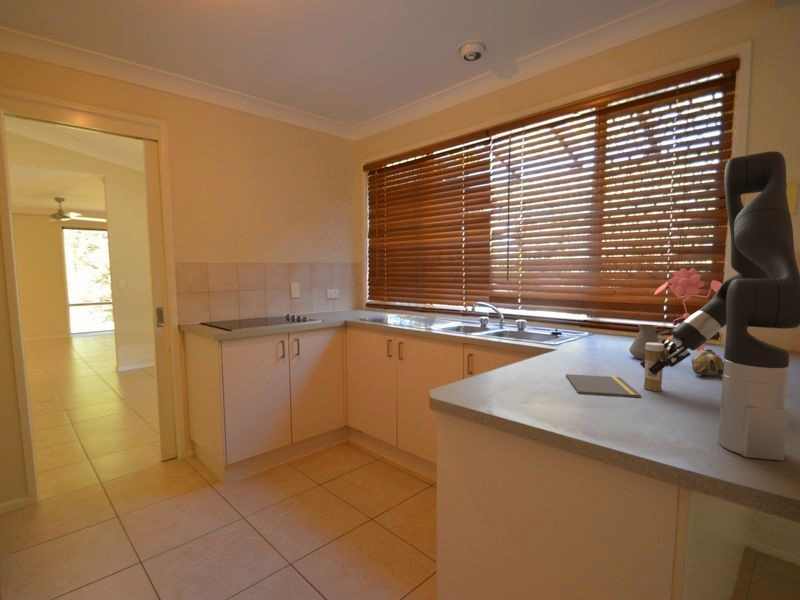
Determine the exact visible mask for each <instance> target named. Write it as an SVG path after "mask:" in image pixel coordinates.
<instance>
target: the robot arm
mask: <svg viewBox="0 0 800 600" xmlns="http://www.w3.org/2000/svg"><path fill="white" fill-rule="evenodd" d="M785 159H786V158H785V157H784V155H783V154H782V153H781V152H779V151H773V150H772V151H771V150H770V151H765V152H757V153H752V154H747V155H741V156H736V157H732V158H729V160H728V161H727V162H726V164H725V169H724V174H723V175H724V177H723V178H724V179H723V180H724V182H723V183H724V193H725V204H726V212H727V218H728V226H729V234H730V266H731V269H733V270H734V271H735V272H737V273H738V274H735V275H732V276H729V277H728V278H726V280H724V281H723V283H722V285H721V287H720V288H719V289H718V291H717V292H715V294H714V295H713V297H712V298H711V300H709V301H708V302H707V303H706V304H705V305H703V306H702V307H701V308H699V309H698V310H697V311H695V312H693V313H692V314H690V315H691V316H689V317H688V318H687V319H685V320H683V321H682V322H681V323H679V324H678V325H677V326H675V327H674V329H673V328H672V329H673V330H672V329H671V330H672V331H671V332H670V333H671V336H672V335H673V338H671V339H669V340H667V339H665V338H661V339H659V342H658V343H661V344H664V351H663V356H662V357H661V359H660V361H657V362H656V363H655V364H653V365H652V366H651V367H649V369H648V370H649V371H650V372H651V373H652V374H654V375H655V374H657V373H658V372H659V371H661V370H662V369H663V370H664V369H665V367H666V368H668V367H671V368H673V367H675V366H676V365H678V364H679V363H681V362H682V361H683V360H685V359H687V358H688V357H689V356H691V353H690V352H689V350H690V351H697V350H696V349H697V348H699V347H700V346H701V345H702V344H705V343H706V342H708V341H709V340H710V339H712V337H715V335H717V333H718V332H719V331H720V330H721V329H723V328H724V327H726V329H725V332H726V333H725V343H724V344H725V346H724V354H723V355H724V356H723V363H724V366H723V375H722V381H721V395H720V396H721V397H720V406H719V407H720V410H719V420H718V421H719V422H718V423H719V424H718V439H717V441H718V443H719V445H720V446H722V447H723V448H725V449H726V450H729V451H731V452H733V453H736V454H739V455H740V456H742V457H744V458H753V459H762V460H770V461H771V460H774V461H784V457H785V447H786V435H787V424H788V423H787V422H788V411H787V409H786V398H787V385H788V377H789V376H788V375H789V366H790V365H789V364H790V353H789V351H787V350H786V349H784V348H782V347H779V346H777V345H773V344H771V343H767V342H765V341H762V340H760V339H758V338H757V337H755V336H753V335H752V334H751V333H750V332H748V328H749V327H750V328H751V327H752V328H767V329H781V330H783V329H795V328H797V327H799V326H800V271H799V267H798V262H797V260H796V253H795V244H794V242H795V241H794V240H795V239H794V228H793V221H792V216H791V211H790V207H789V201H788V195H787V166H786V165H787V164H786V160H785ZM755 193H759V194H758V195H757V196H756V197H754V198H753V199H752V200H751V201H749V203H747V204H746V205H745V206H744V204H743V200H742V195H746V194H755ZM666 340H667V341H666ZM639 365H640V366H641V367H642V368H643V369H645V359H644V360H641V362H639Z"/></svg>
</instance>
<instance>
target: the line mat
mask: <svg viewBox="0 0 800 600" xmlns="http://www.w3.org/2000/svg"><path fill="white" fill-rule="evenodd" d="M565 377H566V378H567V379H568V382H570V384H571V385H572V387H573V388H574V390H575V391H576V393H578V394H583V395H584V394H585V395H597V396H599V395H600V396H601V395H602V396H615V397H629V398H631V397H632V398H642V394H640V393H639V392H638V391H637V390H636V389H634V387H632V386H631V385H630V384H629V383H627V382H626V381H625V380H624V379H622V377H620V376H613V375H611V376H604V375H587V374H586V375H584V374H571V373H569V374H565Z"/></svg>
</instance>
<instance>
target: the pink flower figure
mask: <svg viewBox="0 0 800 600" xmlns="http://www.w3.org/2000/svg"><path fill="white" fill-rule="evenodd" d="M673 276H674V277H670V278H669V279H668V282H666V283H663V284H662V285H660V286H659V287H658V288H657V289H656V290H655V292H654V294H653V295H654V296H656V295H658V294H659V293H661V292H663V291H664V290H665V289H666V288H667V287H668V288H669V289H670V291H671V292H672V293H673V294H674V295H675V297H676V298H677V299H682V298H683V299H684V298H685V299H684V300H683V301H682V304H683V306H684V312H685V313H683V316H682V317H678V318H676V319H674V320H673V321H672V324H673V326H672V327H673V328H672V329H674V328H675V321H677V320H680V319H685V320H686V319H687V318H688V317H689V316H691V315H692V314H691V313H688V311H687V306H686V301H688V300H689V299H692V297H697V298H705V299H709V297H710V294H711V293H712V290H713V291H714V292H715V293H716V292H717V291H718V289H719V288H720V287H721V285H722V284H723V283H722V282H720V281H719V280H715V279H713V280H712V281H711V282H710V288H709V290H708V293H707V296H705V295H698V294H700V288H703V287H704V286H705V282H703V281H702V280H701V279H702V274H700V273H699V274H697V270H696V269H695V268H693V267H692V268H690V269H689V270H688V269H686V268H683V267H682V268H680V270H675V271H673ZM669 283H670V284H671V285H670V284H669ZM671 338H673V335H672V334H671V335H670V336H669V337H668V338H666V339H665V340H666V341H667V340H669V339H671ZM705 346H706V344H705V343H704V344H702V345H701V346H700V347H699V348H697V349H696V350H695V351H697V352H699V351H700V350H701V349H704V350H705Z"/></svg>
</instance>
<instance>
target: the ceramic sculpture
mask: <svg viewBox="0 0 800 600" xmlns="http://www.w3.org/2000/svg"><path fill="white" fill-rule="evenodd" d="M690 360H691V364H692V366H691V367H692V371H693V372H694V373H695V374H696V375H700V376H701V375H704V376H711V377H713V376H714V377H715V376H718V375H722V376H723V366H724V360H723V359H722V358H721V357H720V355H718V354H716V352H715V351H713V350H712V349H709V348H708V349H705V348H704V349H701V350H700V351H699V352H698V351H697V352H696V353H694V355H692V358H691V359H690Z"/></svg>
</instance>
